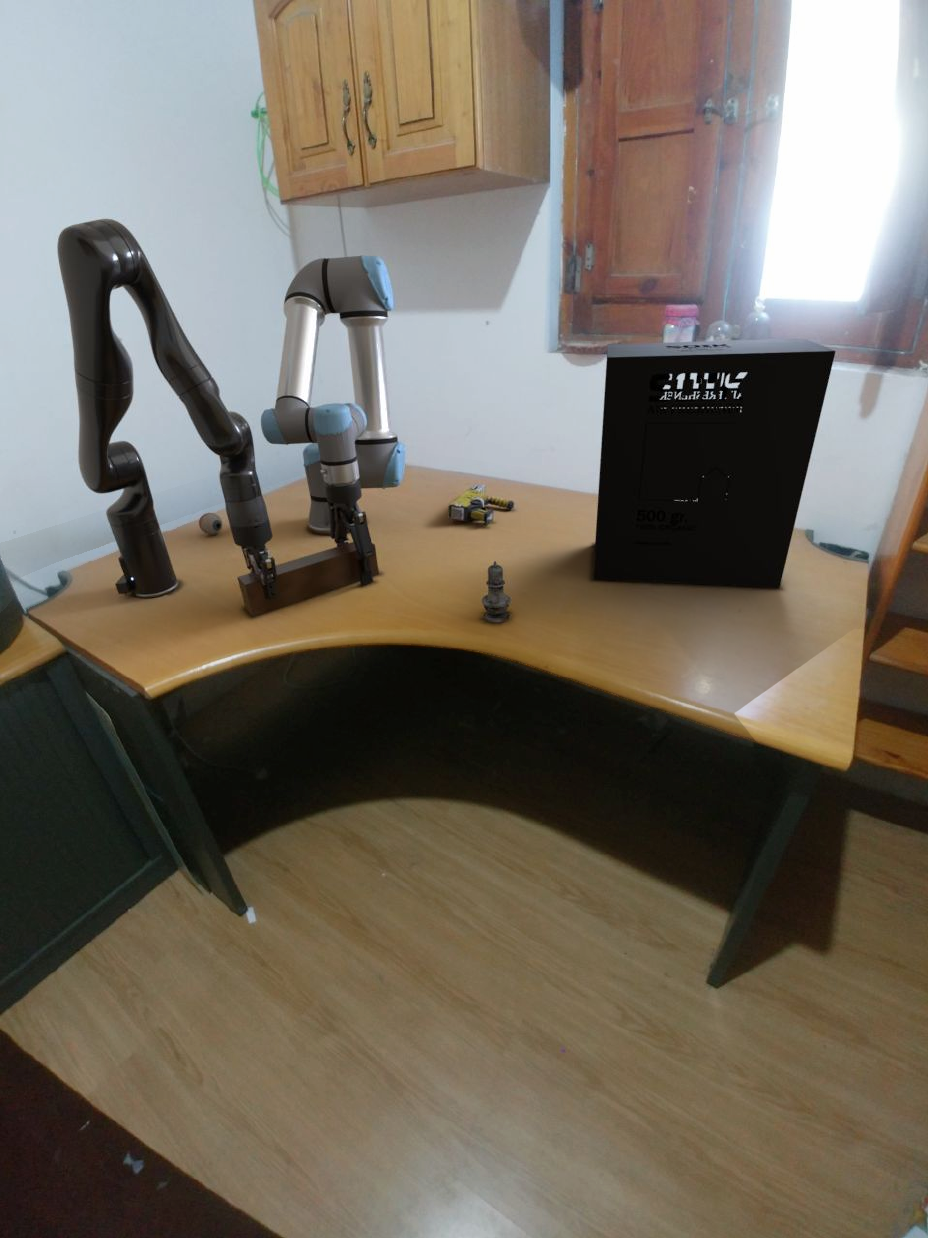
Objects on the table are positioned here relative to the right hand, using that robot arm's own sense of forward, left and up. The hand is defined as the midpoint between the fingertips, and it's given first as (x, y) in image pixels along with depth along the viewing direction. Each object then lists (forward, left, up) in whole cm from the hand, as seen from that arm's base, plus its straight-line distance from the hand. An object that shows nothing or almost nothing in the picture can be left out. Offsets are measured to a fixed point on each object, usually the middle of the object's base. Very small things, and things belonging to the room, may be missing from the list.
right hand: (356, 575), depth 140 cm
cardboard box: (+45, +59, 0) cm, 74 cm away
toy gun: (-13, +49, 0) cm, 50 cm away
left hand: (0, -21, +3) cm, 21 cm away
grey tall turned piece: (+36, +13, 0) cm, 38 cm away
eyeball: (-52, -17, 0) cm, 55 cm away
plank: (0, -10, 0) cm, 10 cm away
